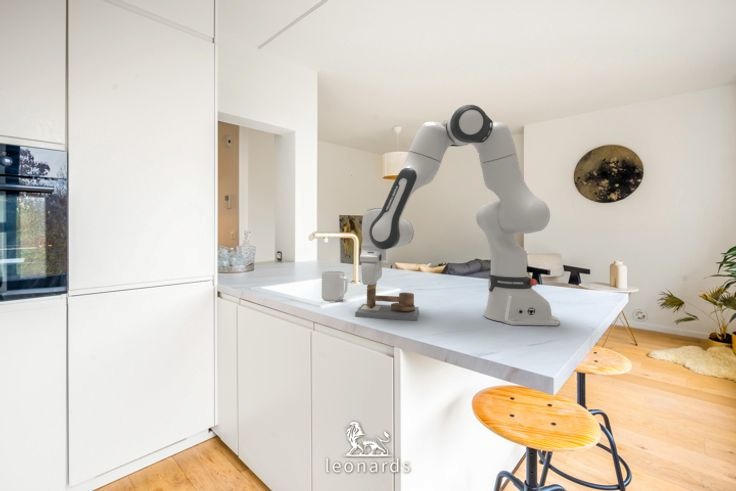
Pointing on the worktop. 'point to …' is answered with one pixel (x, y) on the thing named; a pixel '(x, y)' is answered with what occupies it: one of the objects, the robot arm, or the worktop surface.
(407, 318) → the stand
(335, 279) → the mug
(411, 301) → the brown wooden piece
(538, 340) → the worktop surface
